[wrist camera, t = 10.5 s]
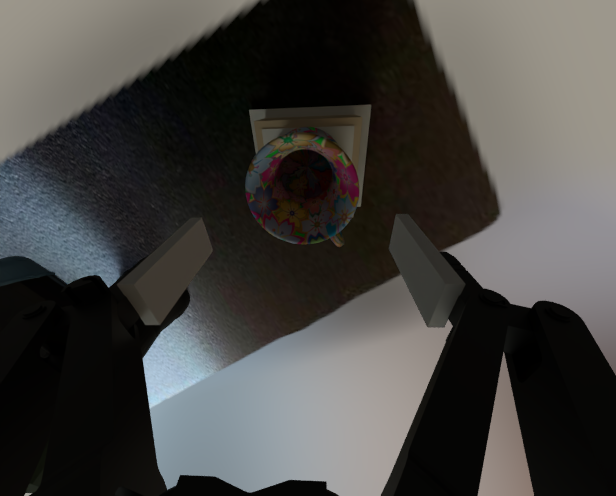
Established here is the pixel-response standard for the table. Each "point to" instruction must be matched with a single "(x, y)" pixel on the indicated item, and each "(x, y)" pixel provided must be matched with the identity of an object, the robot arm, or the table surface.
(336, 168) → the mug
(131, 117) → the table surface
